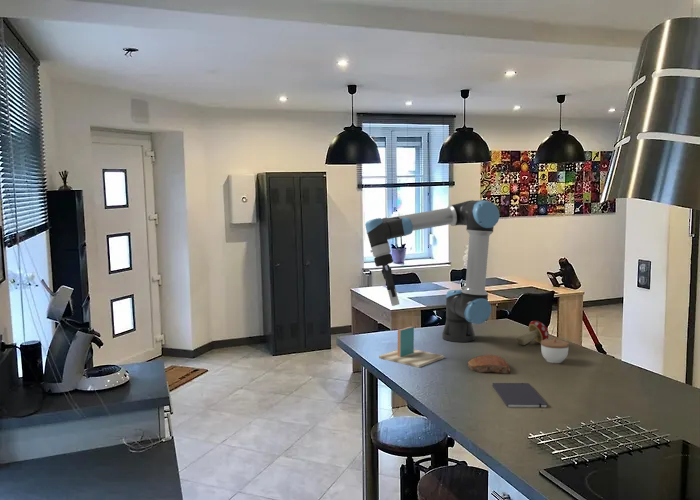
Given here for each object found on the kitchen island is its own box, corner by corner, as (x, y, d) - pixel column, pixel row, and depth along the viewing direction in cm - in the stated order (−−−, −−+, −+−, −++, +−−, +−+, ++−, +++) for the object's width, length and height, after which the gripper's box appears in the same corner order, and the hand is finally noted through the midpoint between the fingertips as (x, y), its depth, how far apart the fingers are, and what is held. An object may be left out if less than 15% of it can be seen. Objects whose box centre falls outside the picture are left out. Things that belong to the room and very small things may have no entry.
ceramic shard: (465, 350, 236) (502, 355, 236) (463, 366, 236) (500, 371, 235) (472, 355, 221) (512, 361, 221) (470, 372, 221) (510, 378, 221)
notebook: (492, 387, 207) (507, 409, 186) (492, 382, 207) (507, 404, 186) (528, 387, 207) (547, 409, 186) (528, 382, 207) (548, 404, 186)
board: (378, 358, 243) (378, 355, 243) (405, 349, 256) (405, 347, 256) (418, 367, 229) (418, 364, 229) (444, 358, 243) (444, 355, 243)
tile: (397, 356, 242) (397, 330, 241) (410, 351, 248) (410, 326, 247) (400, 356, 241) (400, 330, 240) (413, 352, 247) (413, 326, 246)
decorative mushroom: (516, 327, 260) (543, 313, 264) (508, 335, 270) (534, 322, 274) (530, 349, 256) (557, 335, 260) (521, 356, 266) (548, 342, 270)
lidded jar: (564, 357, 242) (565, 335, 242) (571, 365, 232) (572, 341, 231) (537, 357, 243) (538, 335, 243) (543, 364, 233) (544, 341, 232)
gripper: (373, 259, 257) (386, 307, 255) (373, 255, 232) (387, 307, 230) (390, 255, 257) (402, 302, 255) (392, 250, 232) (406, 302, 230)
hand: (395, 305), depth 243 cm, fingers open, 13 cm apart
